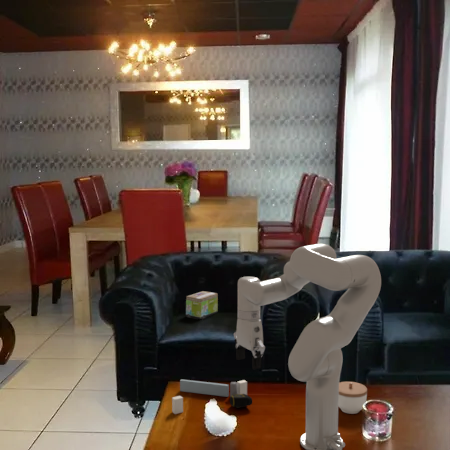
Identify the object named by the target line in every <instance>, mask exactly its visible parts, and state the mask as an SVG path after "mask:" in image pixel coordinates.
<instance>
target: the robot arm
mask: <svg viewBox="0 0 450 450" xmlns="http://www.w3.org/2000/svg"><path fill="white" fill-rule="evenodd" d="M309 283H313V284H315V285H318V286H320V287H322V288H324V289H327V290H329V291H334V292H335V291H344V290H346V291H345V292H344V293H343V294H342V295H341V296H340V297H339V299H338V300H337V302H336V305H335V306H334V308H333V309H332V311H331V312H330V313H329V314H327V315H326V316H322V317H320V318H317V319H315V320H312V321H310V323H309V322H308V324H307V325H306V326H305V327H304V328H303V330H302V332H301V333H300V335H299V337H298V339H297V340H296V343H295V344H294V346H293V348H292V349H291V351H290V353H289V356H288V360H287V361H288V363H287V365H288V371H289V372H290V374H291V376H292V377H293V378H294V379H296V381H300V382H303V383H304V382H306V384H305V385H306V387H305V433H303V434H302V435H301V436H300V438H299V442H300V445H301V447H302V448H304V449H305V450H343V448H345V446H346V443H345V442H344V440H343V438H342V437H341V433H339V406H338V399H339V383H340V378H341V373H342V367H343V360H344V359H343V351H342V348H344V347H345V346H348V345H349V344H351V342H352V340H353V339H354V337H355V335H356V334H357V332H358V331H359V329H360V327H361V325H362V324H363V323H364V321H365V320H366V317H367V315H368V314H369V312H370V310H371V309H372V307H373V306H374V305H375V303H376V301H377V299H378V298H379V294H380V291H381V287H382V276H381V272H380V269H379V266H378V264H377V263H376V262H375V260H374V259H373V258H371V257H370V256H368V255H363V254H353V255H349V256H342V257H338V258H337V253H336V251H335V250H334V248H333V247H332V246H331V245H329V244H325V243H315V244H308V245H304V246H300V247H298V248H296V249H295V250H294V251H293V252H292V253H291V256H290V259H289V260H288V261H287V262H286V263H285V264H284V266H283V273H282V275H279V276H277V277H275V278H270V279H266V280H261V279H259V278H258V277H255V276H243V277H242V276H241V277H239V279H238V280H237V319H236V330H235V331H234V333H233V338H234V343H235V349H236V350H235V351H236V353H235V355H236V357H235V358H236V360H237V361H242V360H244V359H246V349H247V350H249V351H251V353H252V356H253V357H252V358H251V359H252V361H251V363H252V364H251V366H252V368H251V369H252V370H258V369H261V368H262V357H263V355H264V353H265V350H266V346H265V345H264V331H263V325H262V324H263V323H262V319H261V306H266V305H270V304H275V303H277V302H281V301H284V300H286V299H289V298H290V297H292V296H294V295H295V294H297V293H299V292H300V291H301V290H302V288H304V286H306V285H307V284H309ZM256 351H257V352H256Z"/></svg>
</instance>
